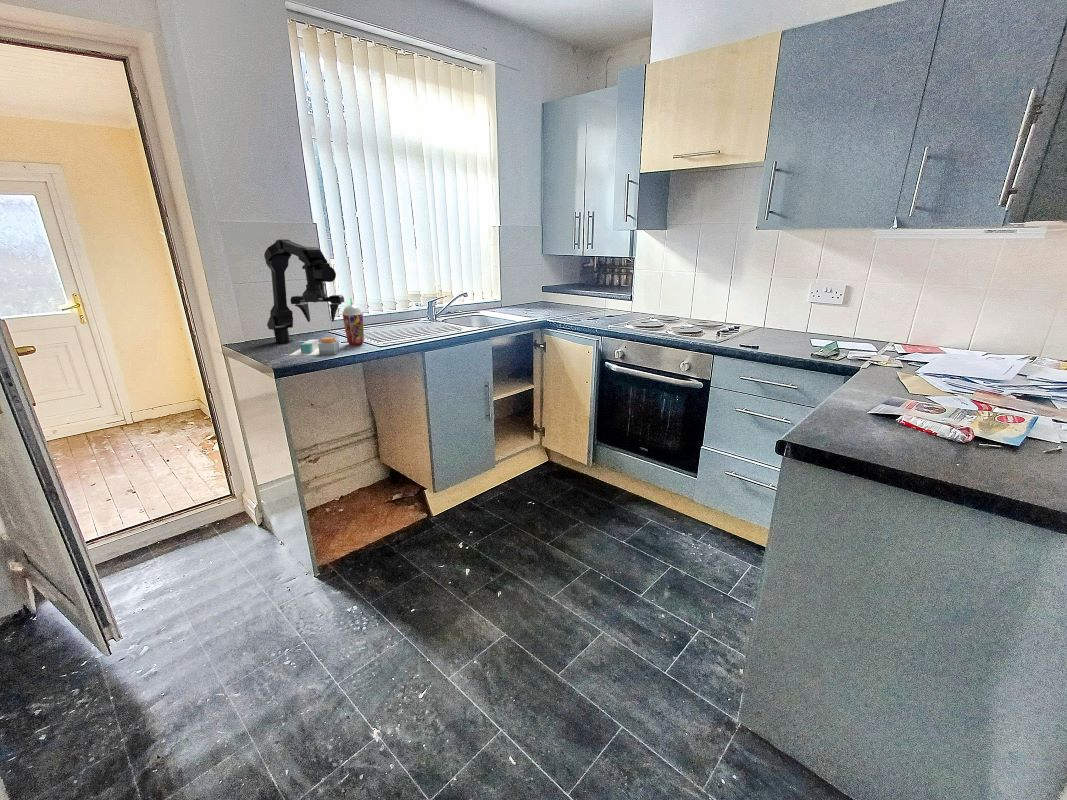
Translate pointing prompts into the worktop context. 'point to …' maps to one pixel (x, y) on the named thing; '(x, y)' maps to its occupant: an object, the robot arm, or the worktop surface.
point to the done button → (328, 340)
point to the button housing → (329, 348)
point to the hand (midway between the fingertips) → (320, 321)
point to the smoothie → (353, 324)
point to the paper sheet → (305, 353)
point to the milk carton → (309, 346)
